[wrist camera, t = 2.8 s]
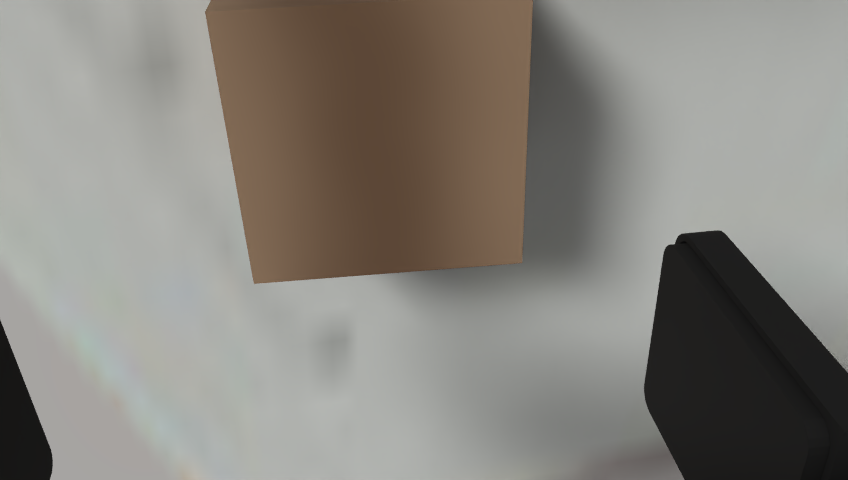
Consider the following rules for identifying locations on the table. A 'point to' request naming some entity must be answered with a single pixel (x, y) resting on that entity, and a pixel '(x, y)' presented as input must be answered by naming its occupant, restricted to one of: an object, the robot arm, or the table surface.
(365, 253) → the walnut block
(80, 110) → the table surface
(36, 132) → the table surface
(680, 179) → the table surface
